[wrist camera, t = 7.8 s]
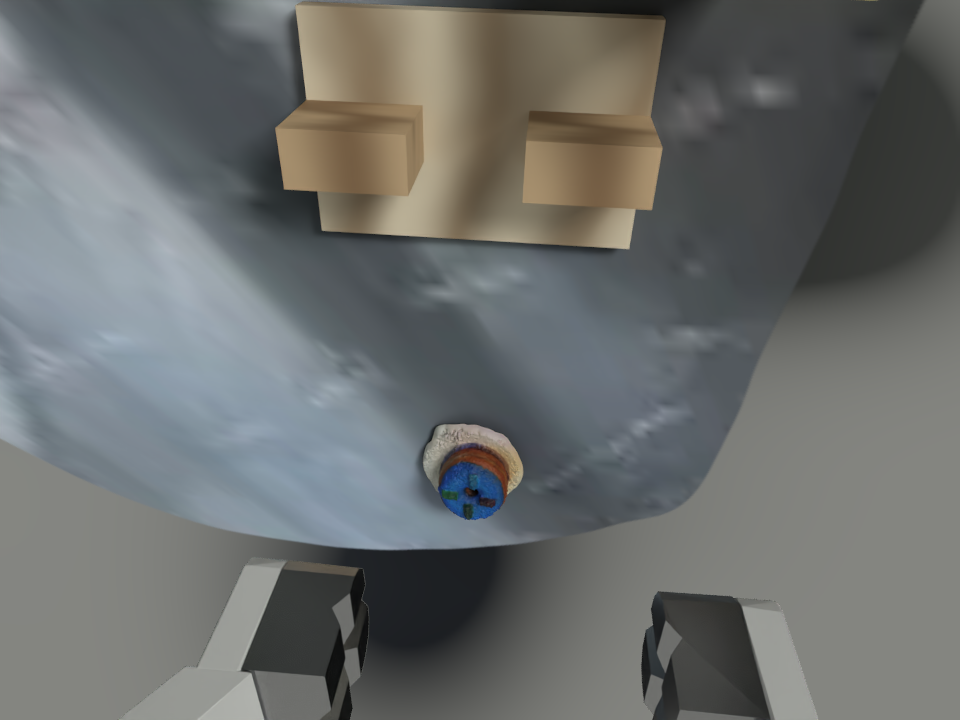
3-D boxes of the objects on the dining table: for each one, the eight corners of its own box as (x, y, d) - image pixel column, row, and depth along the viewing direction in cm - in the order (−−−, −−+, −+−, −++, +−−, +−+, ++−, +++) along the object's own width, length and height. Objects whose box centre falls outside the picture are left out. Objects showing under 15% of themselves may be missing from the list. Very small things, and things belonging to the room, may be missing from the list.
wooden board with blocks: (327, 222, 42) (296, 270, 37) (302, 1, 35) (260, 23, 30) (627, 240, 41) (637, 291, 36) (662, 15, 34) (681, 41, 29)
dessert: (526, 513, 53) (471, 555, 49) (465, 471, 57) (410, 508, 53) (532, 429, 49) (472, 469, 45) (466, 391, 53) (406, 425, 49)
